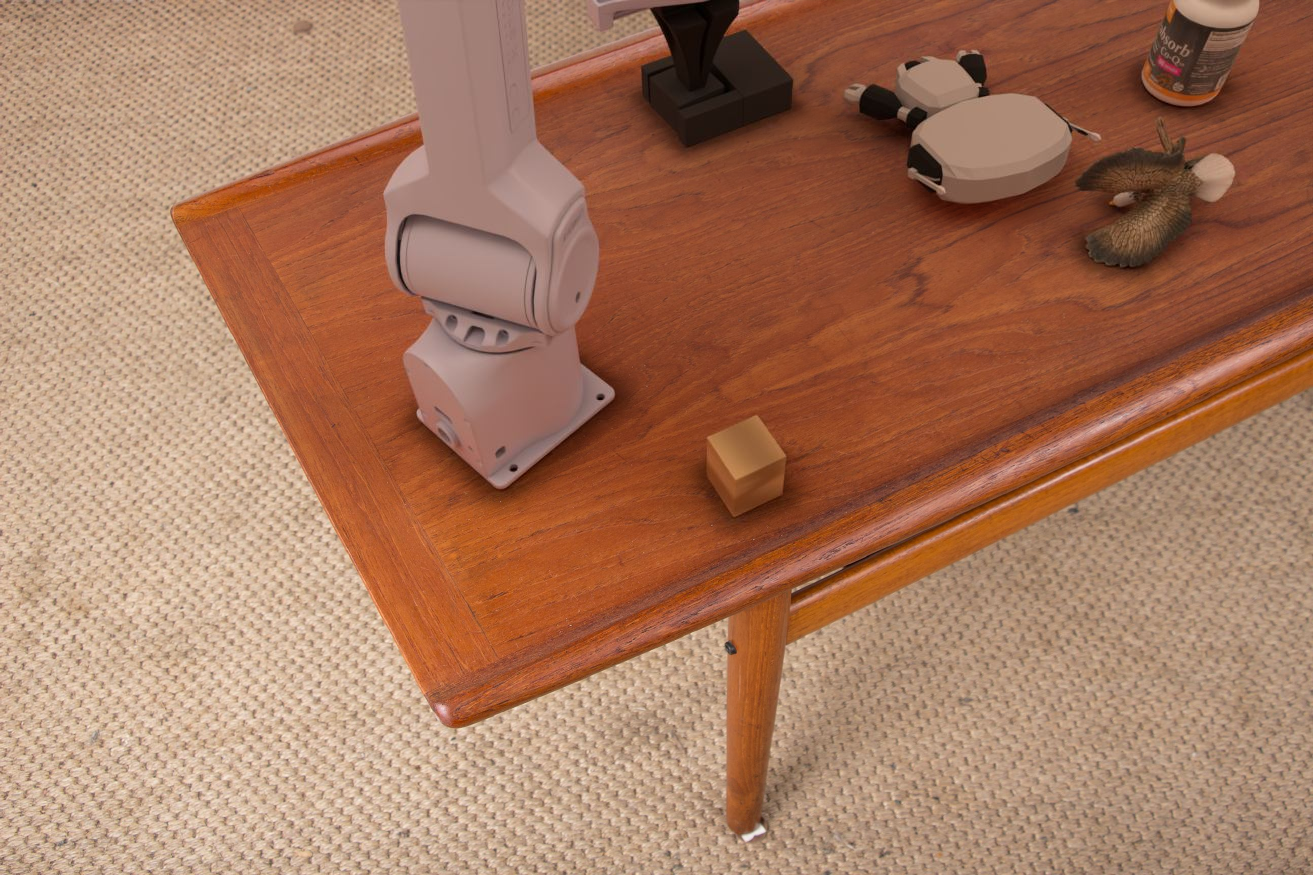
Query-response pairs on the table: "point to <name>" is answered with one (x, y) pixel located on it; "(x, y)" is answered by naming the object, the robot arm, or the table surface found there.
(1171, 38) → the pill bottle
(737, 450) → the cube
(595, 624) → the table surface
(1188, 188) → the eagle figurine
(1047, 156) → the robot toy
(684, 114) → the base pad
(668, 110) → the small pad
